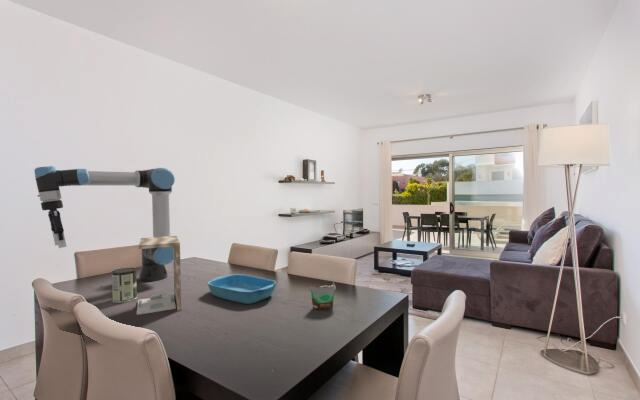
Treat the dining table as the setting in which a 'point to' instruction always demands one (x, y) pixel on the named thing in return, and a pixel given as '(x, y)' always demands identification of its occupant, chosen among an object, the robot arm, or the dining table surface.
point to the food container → (323, 296)
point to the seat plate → (156, 304)
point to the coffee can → (124, 285)
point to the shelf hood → (173, 242)
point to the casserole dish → (242, 288)
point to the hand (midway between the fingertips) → (60, 246)
